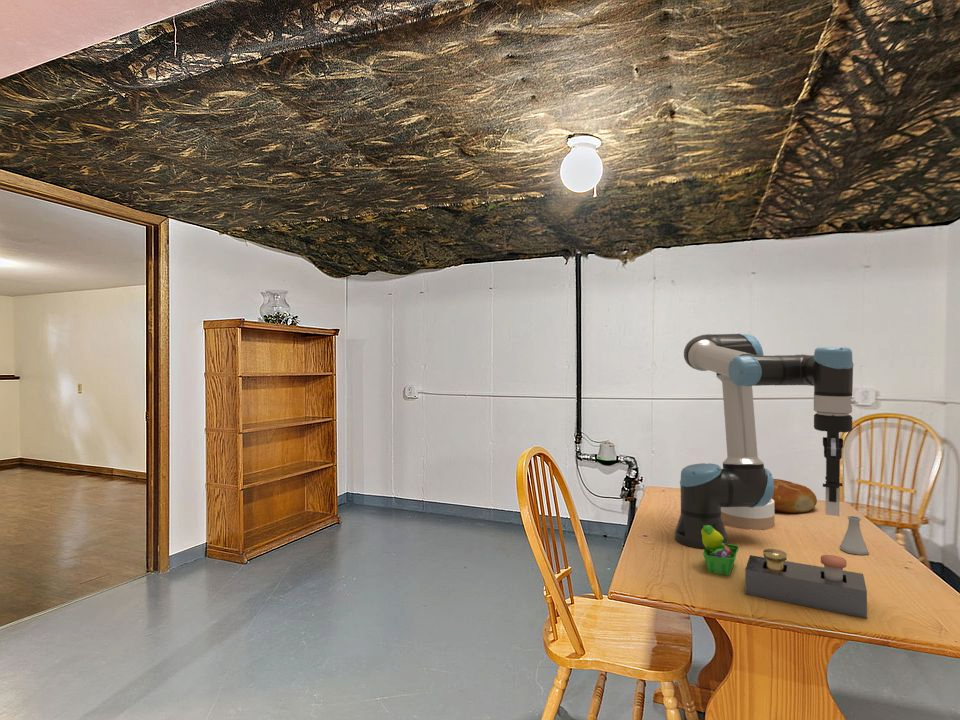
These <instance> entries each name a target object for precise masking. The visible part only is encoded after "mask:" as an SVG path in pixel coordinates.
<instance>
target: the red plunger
mask: <svg viewBox="0 0 960 720" xmlns="http://www.w3.org/2000/svg"><path fill="white" fill-rule="evenodd" d="M820 563H821V564H822V565H824V579H827V580H833V581H839V582H843V571H844V570H843V569H845V568H846V567H847V559H845V558H843V557H841V556H838V555H833V554H823V555H821V556H820Z"/></svg>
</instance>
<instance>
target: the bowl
mask: <svg viewBox="0 0 960 720" xmlns="http://www.w3.org/2000/svg"><path fill="white" fill-rule="evenodd" d="M775 513H776V511H775V505H774V500H773V499H772V498H771V500H770V501H769V503H768V504H766V505H765V506H759V507H753V508H750V507H721V519H722V522H723V525H726V526H730V527H732V528H733V527H734V528H735V529H736V528H737V529H742V528H743V529H744V530H750V529H752V530H755V531H760V530H769V529H773V528H774V527H775Z"/></svg>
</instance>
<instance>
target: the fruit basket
mask: <svg viewBox="0 0 960 720" xmlns="http://www.w3.org/2000/svg"><path fill="white" fill-rule="evenodd" d="M701 534H702V541H703V544H704V546H705V547H706V548H705V549H704V550H703V551H702V555H703V557H704V560H705V565H706V568H707V572H708V573H714V574H719V575H723V574H724V575H725V576H730V575H731V572H732V569H733V567H734V565H735V564H734V563H735V561H736V557H737V554H738V551H739V547H740V546H739V545H735V544H731V543H730V544H729V543H727V544H725V543H722V541H723V540H724V538H723V536H722V535H721V534H720V533H719V532H718V531H716V530H715V529H714V528H713V527H712V526H710V525H707V526H705V525H704V526H703V529H702V530H701Z"/></svg>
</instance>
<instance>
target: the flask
mask: <svg viewBox="0 0 960 720" xmlns="http://www.w3.org/2000/svg"><path fill="white" fill-rule="evenodd" d="M847 519H848V525H847V530H846V532H845V534H844V536H843V539H842V541H841V542H840V545H839V550H840V551H842V552H845V553H848V554H853V555H860V556H861V555H865V556H866V555H870V552H869V549H868V547H867V544H866V542H865V539H864V536H863V534H862V530H861V526H860V524H861V523H860V521H861V520H862V519H861V517H860V516H857V515H847Z"/></svg>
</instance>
